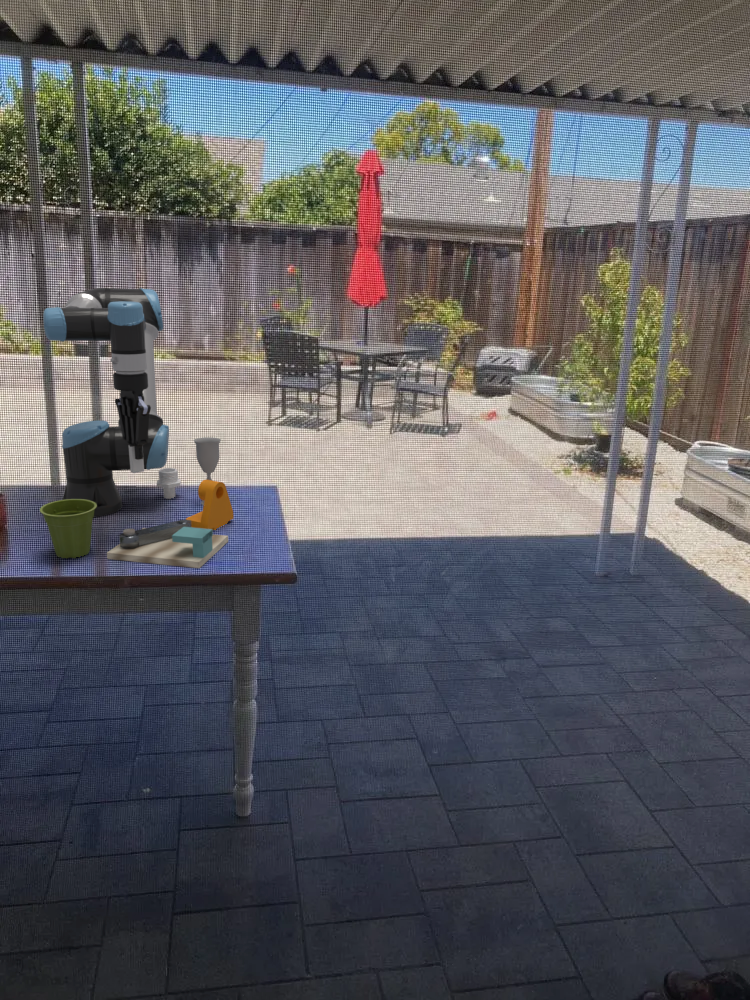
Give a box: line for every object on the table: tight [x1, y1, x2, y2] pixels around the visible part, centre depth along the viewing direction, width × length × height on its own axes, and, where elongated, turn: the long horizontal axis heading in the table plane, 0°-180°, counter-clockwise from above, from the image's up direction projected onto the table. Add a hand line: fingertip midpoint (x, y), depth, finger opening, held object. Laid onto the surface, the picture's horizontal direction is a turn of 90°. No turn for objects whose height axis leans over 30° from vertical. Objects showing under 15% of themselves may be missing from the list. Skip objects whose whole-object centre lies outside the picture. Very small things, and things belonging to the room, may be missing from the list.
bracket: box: [185, 479, 235, 531], centre depth 188 cm, size 11×7×12 cm, turn 155°
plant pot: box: [39, 499, 97, 559], centre depth 167 cm, size 12×12×11 cm
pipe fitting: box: [156, 467, 182, 500], centre depth 210 cm, size 6×7×8 cm
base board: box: [106, 527, 229, 569], centre depth 172 cm, size 22×17×5 cm
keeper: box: [172, 527, 214, 558], centre depth 167 cm, size 7×6×5 cm
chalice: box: [193, 436, 222, 506], centre depth 204 cm, size 7×7×18 cm
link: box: [118, 519, 192, 549], centre depth 174 cm, size 18×4×2 cm, turn 134°
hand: (137, 471), depth 176 cm, fingers closed
